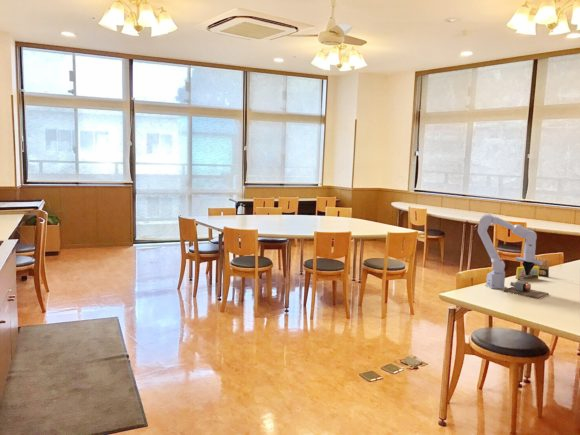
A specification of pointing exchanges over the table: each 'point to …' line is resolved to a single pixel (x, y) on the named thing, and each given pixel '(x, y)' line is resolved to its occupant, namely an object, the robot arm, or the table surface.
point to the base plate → (527, 293)
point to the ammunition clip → (543, 268)
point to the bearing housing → (520, 286)
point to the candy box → (522, 275)
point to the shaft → (526, 286)
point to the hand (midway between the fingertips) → (527, 274)
